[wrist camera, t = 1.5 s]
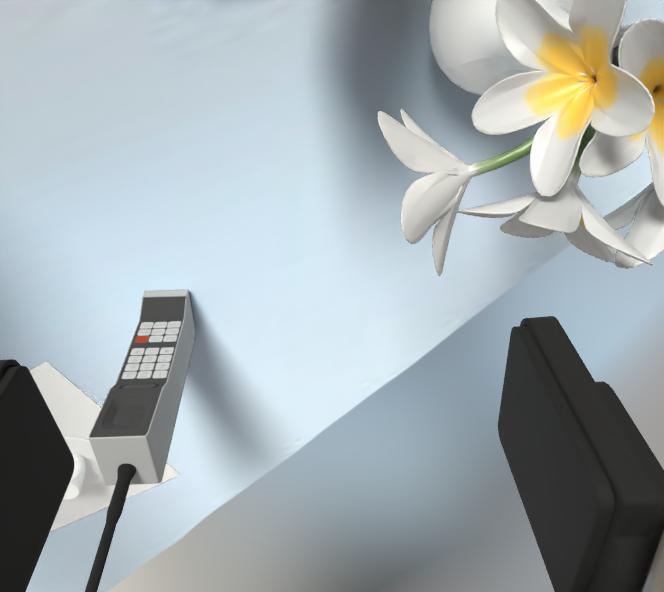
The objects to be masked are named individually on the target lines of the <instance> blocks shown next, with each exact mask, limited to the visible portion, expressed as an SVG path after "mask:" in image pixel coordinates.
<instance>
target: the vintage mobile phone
mask: <svg viewBox="0 0 664 592" xmlns="http://www.w3.org/2000/svg"><path fill="white" fill-rule="evenodd" d="M195 336H196V331H195V325H194V320H193V314H192V308H191V302H190V297H189V291H188V290H157V291H145V292H144V295H143V297H142V305H141V312H140V320H139V323H138V325H137V328H136V331H135V333H134V336H133V339H132V341H131V344H130V347H129V349H128V352H127V355H126V357H125V360H124V363H123V365H122V368H121V371H120V373H119V376H118V379H117V381H116V384H115V385H114V386H113V387H112V388H111V389H110V390H109V392H108V394H107V397H106V399H105V401H104V403H103V406H102V408H101V410H100V412H99V414H98V417H97V419H96V421H95V423H94V426H93V428H92V430H91V432H90V434H89V441H90V443H91V446H92V449H93V452H94V454H95V457H96V460H97V463H98V465H99V468H100V471H101V474H102V477H103V479H104V482H105V485H106V486H111V485H115V488H114V492H113V495H112V498H111V501H110V505H109V508H108V511H107V519H106V524H105V528H104V531H103V534H102V537H101V541H100V544H99V547H98V551H97V554H96V557H95V560H94V564H93V567H92V570H91V573H90V577H89V580H88V583H87V587H86V590H85V592H97V590H98V586H99V583H100V579H101V576H102V572H103V569H104V565H105V562H106V558H107V555H108V551H109V548H110V545H111V541H112V538H113V534H114V531H115V527H116V524H117V522H118V520H119V518H120V516H121V514H122V510H123V507H124V503H125V500H126V496H127V492H128V489H129V485H135V484H158V483H160V482H162V479H163V474H164V470H165V466H166V461H167V457H168V453H169V448H170V444H171V440H172V435H173V431H174V427H175V423H176V418H177V414H178V410H179V405H180V401H181V397H182V392H183V388H184V384H185V379H186V375H187V371H188V366H189V362H190V358H191V353H192V349H193V345H194V340H195Z"/></svg>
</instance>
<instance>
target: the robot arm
mask: <svg viewBox="0 0 664 592" xmlns="http://www.w3.org/2000/svg"><path fill="white" fill-rule="evenodd" d="M498 431H499V437H500V441H501V444H502V447H503V449H504V452H505V455H506V458H507V460H508V463H509V466H510V469H511V472H512V474H513V477H514V480H515V483H516V485H517V488H518V491H519V494H520V496H521V499H522V502H523V505H524V508H525V510H526V513H527V516H528V519H529V521H530V524H531V527H532V530H533V532H534V535H535V538H536V541H537V544H538V546H539V549H540V552H541V555H542V557H543V560H544V563H545V566H546V569H547V571H548V574H549V577H550V580H551V582H552V585H553V588H554V591H555V592H664V470H663V468H662V467H661V465H660V464H659V462H658V461H657V459H656V457H655V456H654V454H653V452H652V451H651V449H650V448H649V446H648V445H647V443H646V441H645V440H644V438H643V436H642V435H641V433H640V432H639V430H638V429H637V427H636V425H635V424H634V422H633V421H632V419H631V417H630V416H629V414H628V413H627V411H626V410H625V408H624V406H623V405H622V403H621V401H620V400H619V398H618V397H617V395H616V394H615V392H614V391H613V389H612V388H611V387H610V386H609V385H608V384H606V383H605V382H595V381H594V379H593V378H592V376H591V374H590V373H589V371H588V370H587V368H586V366H585V365H584V363H583V361H582V359H581V358H580V356H579V354H578V353H577V351H576V349H575V348H574V346H573V345H572V343H571V341H570V340H569V338H568V336H567V335H566V333H565V331H564V330H563V328H562V326H561V325H560V323H559V321H558V320H557V319H556V318H555V317H553V316H549V317H537V318H525V319H523V320H522V321H521V324H520V326H519V327H513V328H512V331H511V336H510V343H509V350H508V357H507V364H506V371H505V378H504V385H503V392H502V399H501V406H500V413H499V421H498ZM73 472H74V458H73V455H72V453H71V451H70V449H69V447H68V445H67V443H66V441H65V439H64V437H63V435H62V433H61V431H60V429H59V427H58V425H57V423H56V422H55V420H54V418H53V416H52V414H51V412H50V410H49V408H48V406H47V404H46V402H45V400H44V398H43V396H42V394H41V392H40V390H39V388H38V386H37V384H36V382H35V381H34V379H33V377H32V375H31V373H30V371H29V370H28V368H27V367H25V366H21V365H20V364H19V363H18V362H17V361H16V360H0V592H25V591H26V589H27V586H28V584H29V581H30V579H31V576H32V574H33V572H34V569H35V567H36V564H37V562H38V559H39V557H40V554H41V552H42V549H43V547H44V544H45V542H46V539H47V537H48V535H49V532H50V530H51V527H52V525H53V522H54V520H55V517H56V515H57V512H58V510H59V507H60V505H61V502H62V500H63V498H64V495H65V493H66V490H67V488H68V485H69V483H70V480H71V478H72V475H73Z"/></svg>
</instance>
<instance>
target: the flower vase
mask: <svg viewBox="0 0 664 592" xmlns="http://www.w3.org/2000/svg"><path fill="white" fill-rule="evenodd" d="M626 5H627V0H433V2H432V4H431V11H430V20H429V34H430V42H431V48H432V51H433V53H434V56H435V58H436V60H437V63H438V65H439V67H440V68H441V69H442V71H443V72H444V73H445V74H446V76H447V77H448V78H449V79H450V80H451V81H452V82H453V83H455V84H456V85H458V86H459V87H461V88H462V89H464V90H465V91H468V92H471V93H474V94H478V95H481V97H480V98H479V99H478V101H477V103H476V104H475V106H474V109H473V111H472V116H471V117H472V120H473V126H474V127H475V128H476V129H477V130H478V131H480V132H481V133H485V134H489V135H503V134H507V133H512V132H515V131H519V130H522V129H524V128H527V127H530V126H532V125H535V124H537V123H540V122H542V121H545V120H547V119H548V118H549V119H548V120H547V121H546V122H545V123H544V124H543V125H542V126H541V127H540V128H539V129H538V130H537V132H536V134H535V136H533V137H532V138H530V139H529V140H527V141H526V142H524V143H523V144H521V145H520V146H518V147H517V148H514V149H512V150H510V151H508V152H505V153H503V154H501V155H499V156H496V157H494V158H491V159H488V160H484V161H481V162H477V163H474V164H471V165H467V164H465V163H463V162H462V161H460V160H458V159H457V158H456V157H455V156H454V155H453V154H451V153H450V152H449V151H448V150H446V149H444V148H443V147H441V146H440V145H439V144H437V143H436V142H435V141H434V140H433V139H432V138H430V137H429V136H428V135H427V134H426V133H425V132H424V131H423V130H422V129H421V128H420V127H419V126H418V125H417V124H416V123H415V122H414V121H413V120H412V119H411V118H410V117H409V115H408V114H407V113H406V112H405V111H404V110H403V109H401V110H400V111H401V117H402V119H403V122H404V124H405V126H403V125H402V124H401V123H399V122H398V121H396V120H395V119H393V118H392V117H391V116H389V115H388V114H386V113H385V112H382V111H379V112H378V121H379V126H380V127H381V131H382V133H383V135H384V138H385V139H386V141H387V143H388V145H389V147H390V148H391V150H392V151H393V153H394V154H395V155H396V157H397V158H398V159H399V161H400V162H402V163H403V164H404V165H405V166H406V167H407V168H409V169H410V170H412V171H414V172H420V173H429V175H427V176H424V177H422V178H420V179H418V180H416V181H415V182H414V183H413V184H412V185H411V186H410V187H409V188H408V190H407V191H406V194H405V196H404V198H403V203H402V209H401V226H402V231H403V233H404V235H405V237H406V240H407V241H408V242H409V243H411V244H415V243H417V242H419V241H420V240H421V239H422V238H423V236H424V235H425V234H426V233H427V231H428V230H429V229H430V228H431V226H432V225H433V224H435V223H436V222H437V221H438V220H439V219H441V220H440V221H439V222H438V223H437V225H436V226H435V229H434V233H433V244H432V247H433V257H434V263H435V268H436V270H437V273H438V275H439V276H440V275H441V273H442V270H443V265H444V260H445V255H446V251H447V246H448V242H449V238H450V234H451V230H452V226H453V223H454V220H455V216H456V213H457V212H459V213H463V214H467V215H473V216H480V217H490V218H496V217H500V218H501V217H507V216H511V215H513V214H515V213H517V212H518V213H517V214H516V215H515V216H514V217H513V218H512V219H510V220H508V221H507V222H505V223H504V224H502V225H501V226H500V229H501V230H502V232H504V233H508V234H511V235H514V236H520V237H526V238H539V237H545V236H547V235H550V234H552V233H553V232H554V231H559V232H564V234H565V236H566V238H567V239H568V240H569V241H570V242H571V243H572V244H573V245H574V246H576V247H577V248H578V249H580V250H582V251H583V252H585V253H588V254H589V255H592V256H594V257H596V258H599V259H601V260H604V261H606V262H613V263H615V265H616V266H617V267H621V268H626V269H627V268H632V267H634V266H638V265H641V264H642V263H646V264H650V265H653V264H652V262H650V261H649V260H650V259H652V258H654V257H655V256H657V255H658V254H660V253H661V252H662V251H663V250H664V21H662V20H659V19H652V18H648V19H641V20H640V21H637V22H635V23H634V24H633V25H626V26H622V27H621V24H622V21H623V17H624V13H625V10H626ZM645 141H646V146H647V149H648V153H649V158H650V164H651V172H652V180H653V182H652V183H651V184H650V185H649V186H647V187H646V188H645V189H644V190H642V191H641V192H640V193H639V194H637V195H636V196H635V197H633V198H632V199H631V200H629V201H628V202H627V203H625V204H624V205H622V206H621V207H619V208H618V209H616V210H615V211H613V212H611V213H610V214H608V215H606V216H605V217H602V216H601V215H600V214H599V213H598V212H597V211H596V209H595V208H594V207H593V206H592V205H591V204H590V202H589V201H588V200H587V199H586V197H585V196H584V195H583V193H582V192H581V190H580V189H579V187H578V185H577V183H578V180H579V177H580V174H581V172H582V174H584V175H585V176H587V177H602V176H607V175H610V174H613V173H615V172H618V171H620V170H622V169H623V168H626V167H627V166H629V165H630V164H631V163H633V162H634V161H635V160H637V159H638V158H639V157H640V155H641V154H642V153H643V151H644V146H645ZM529 153H530V173H531V177H532V182H533V184H534V187H535V188H536V190H537V192H535V193H532V194H529V195H526V196H522V197H519V198H515V199H511V200H507V201H502V202H498V203H493V204H488V205H483V206H477V207H472V208H467V209H461V210H458V207H459V205H460V202H461V199H462V197H463V194H464V192H465V189H466V187H467V185H468V183H469V181H470V179H471V178H472V177H474V176H477V175H480V174H482V173H485V172H489V171H492V170H495V169H497V168H500V167H503V166H505V165H507V164H509V163H512V162H514V161H516V160H518V159H520V158H522V157H524V156H526V155H528V154H529ZM635 215H636V216H635ZM634 216H635V220H634V222H633V225H632V227H631V229H630V230H629V232H628V233H627V235H626V236H625V238H623V237H622V236H621V235H620V234H619V233H618V232H617V231H616V230H617V229H620V228H623V227H625V226H626V225H628V224H629V223H631V222H632V220H633V218H634ZM610 246H611V247H612V248H615V249H616V250H617V252H616V255H615V253H614V252H613V250H612V248H611V247H610Z"/></svg>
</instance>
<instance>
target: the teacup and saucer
mask: <svg viewBox="0 0 664 592" xmlns="http://www.w3.org/2000/svg"><path fill="white" fill-rule="evenodd" d="M64 439H65V441H66V443H67V445H68V447H69V449H70V451H71V453H72V455H73V458H74V472H73V475H72V478H71V480H70V483H69V485H68V488H67V490H66V493H65V495H64V498H63V500H64V501H69V500H74V499H76V498H77V497H78V496H79V495H80V493H81V490H82V487H88V486H94V485H98V484H100V483H103V482H104V479H103V477H102V474H101V471H100V468H99V465H98V463H97V460H96V457H95V454H94V452H93V449H92V446H91V443H90V441H89V439H86V438H82V437H77V436H64Z"/></svg>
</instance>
